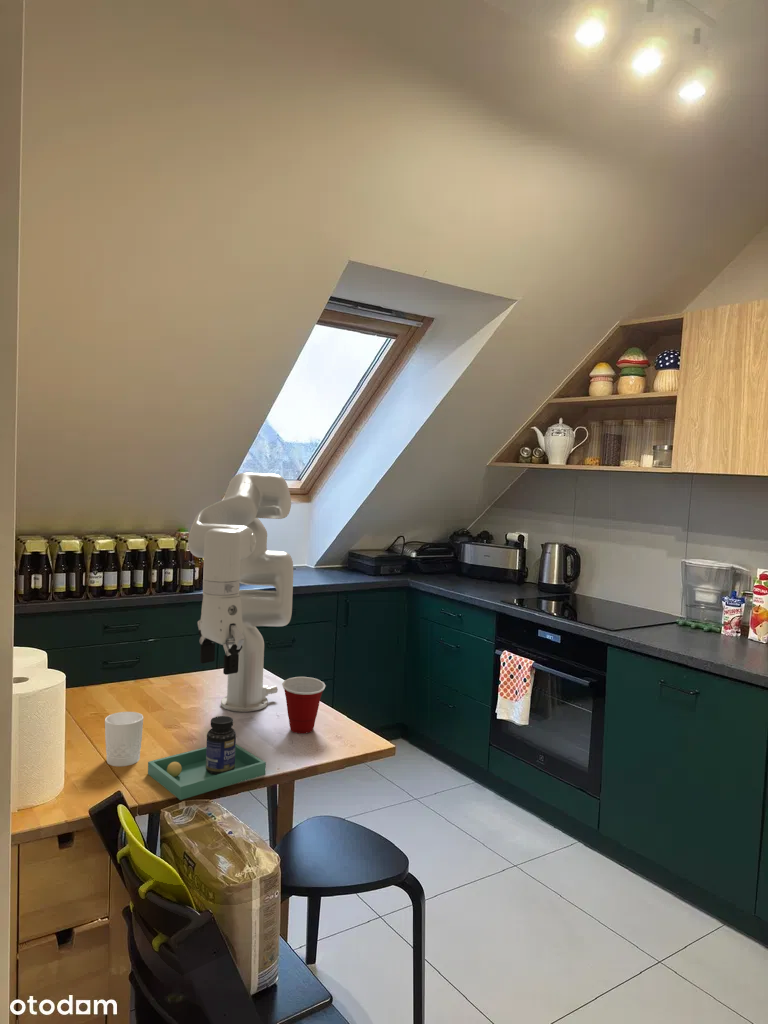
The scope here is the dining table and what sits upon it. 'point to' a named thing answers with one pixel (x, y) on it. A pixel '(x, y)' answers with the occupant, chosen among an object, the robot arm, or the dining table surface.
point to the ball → (174, 769)
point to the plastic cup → (302, 702)
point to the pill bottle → (220, 746)
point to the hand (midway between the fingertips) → (218, 667)
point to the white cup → (123, 738)
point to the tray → (203, 772)
